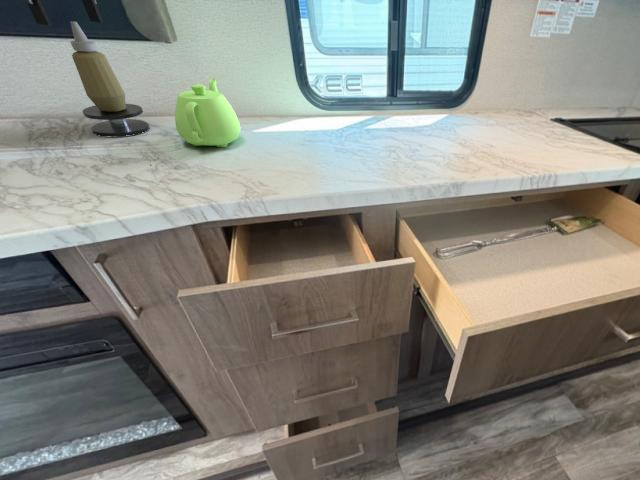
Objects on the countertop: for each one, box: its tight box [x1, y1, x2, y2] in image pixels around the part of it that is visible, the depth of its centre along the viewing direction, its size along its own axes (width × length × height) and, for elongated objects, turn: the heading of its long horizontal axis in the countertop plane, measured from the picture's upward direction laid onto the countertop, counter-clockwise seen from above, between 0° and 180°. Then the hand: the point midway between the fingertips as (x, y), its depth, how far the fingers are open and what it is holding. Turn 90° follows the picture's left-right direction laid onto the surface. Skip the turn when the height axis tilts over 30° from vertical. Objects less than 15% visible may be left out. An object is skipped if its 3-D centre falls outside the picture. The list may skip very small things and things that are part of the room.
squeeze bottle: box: [69, 21, 127, 112], centre depth 82 cm, size 8×8×18 cm
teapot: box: [174, 77, 242, 148], centre depth 87 cm, size 22×15×13 cm
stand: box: [82, 103, 150, 137], centre depth 90 cm, size 13×13×5 cm
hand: (72, 23), depth 76 cm, fingers open, 13 cm apart
